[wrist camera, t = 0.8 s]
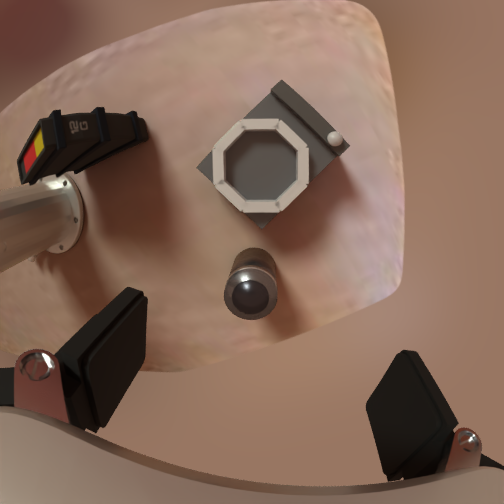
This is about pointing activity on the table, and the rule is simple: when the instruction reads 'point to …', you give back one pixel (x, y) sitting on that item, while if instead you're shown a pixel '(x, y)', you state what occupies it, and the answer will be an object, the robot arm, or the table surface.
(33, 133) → the black device
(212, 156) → the camera body
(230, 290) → the lens
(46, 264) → the table surface
